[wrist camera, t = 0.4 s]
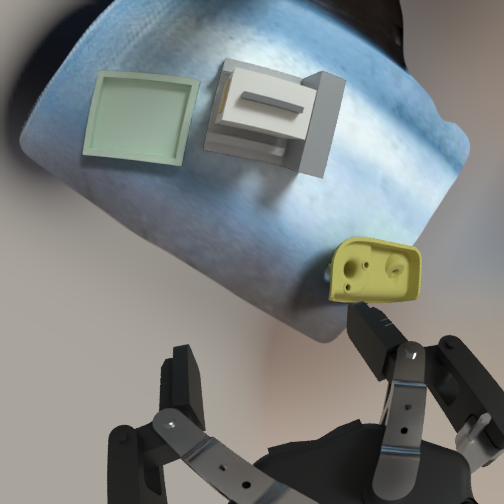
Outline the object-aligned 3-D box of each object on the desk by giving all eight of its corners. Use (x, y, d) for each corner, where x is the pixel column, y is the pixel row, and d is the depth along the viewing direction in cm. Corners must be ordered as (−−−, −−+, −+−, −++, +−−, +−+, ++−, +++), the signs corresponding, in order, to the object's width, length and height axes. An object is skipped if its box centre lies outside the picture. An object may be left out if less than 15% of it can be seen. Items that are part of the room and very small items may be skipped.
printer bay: (224, 60, 29) (232, 43, 23) (320, 87, 33) (346, 80, 27) (202, 149, 34) (205, 152, 27) (300, 170, 37) (322, 178, 31)
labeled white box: (223, 83, 30) (234, 64, 21) (287, 99, 32) (321, 89, 23) (213, 123, 32) (220, 118, 23) (278, 137, 34) (308, 140, 25)
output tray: (103, 73, 27) (99, 70, 25) (200, 83, 30) (200, 80, 28) (87, 153, 30) (82, 154, 29) (181, 164, 34) (181, 166, 32)
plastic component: (422, 248, 44) (418, 306, 43) (393, 250, 51) (389, 302, 50) (335, 230, 37) (329, 306, 36) (307, 236, 44) (302, 301, 43)
